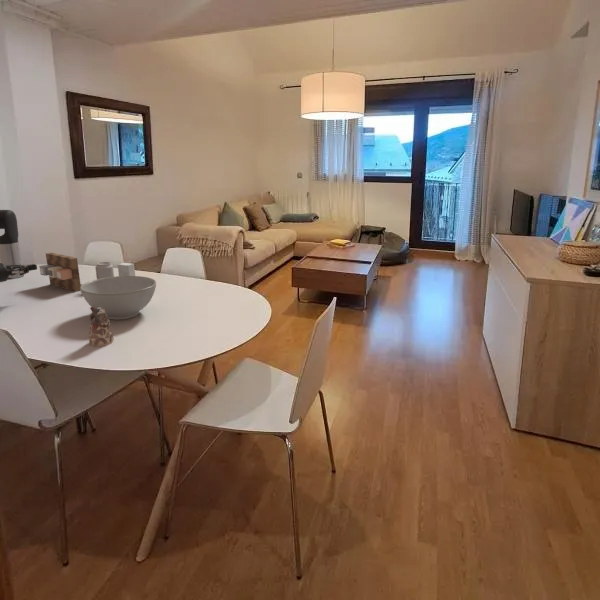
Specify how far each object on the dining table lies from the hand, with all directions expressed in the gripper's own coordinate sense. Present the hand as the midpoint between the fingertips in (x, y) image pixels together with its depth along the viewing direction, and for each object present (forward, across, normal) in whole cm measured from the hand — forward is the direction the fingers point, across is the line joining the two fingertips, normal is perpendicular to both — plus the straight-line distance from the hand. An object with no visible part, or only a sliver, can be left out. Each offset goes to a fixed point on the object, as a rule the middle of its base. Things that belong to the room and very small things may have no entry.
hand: (35, 266), depth 191 cm
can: (+26, +9, -14) cm, 30 cm away
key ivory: (+13, -8, -7) cm, 16 cm away
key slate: (+12, -15, -7) cm, 21 cm away
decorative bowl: (+6, +47, -14) cm, 50 cm away
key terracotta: (+13, -1, -7) cm, 15 cm away
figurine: (-15, +66, -15) cm, 69 cm away
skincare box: (+30, +19, -14) cm, 38 cm away
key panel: (+18, -8, -13) cm, 23 cm away
